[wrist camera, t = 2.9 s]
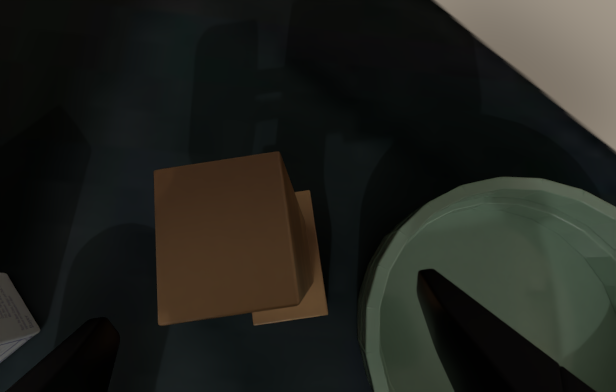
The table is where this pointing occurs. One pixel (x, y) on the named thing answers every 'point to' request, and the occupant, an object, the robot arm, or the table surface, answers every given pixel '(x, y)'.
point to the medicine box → (13, 319)
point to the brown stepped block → (235, 243)
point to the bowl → (496, 279)
